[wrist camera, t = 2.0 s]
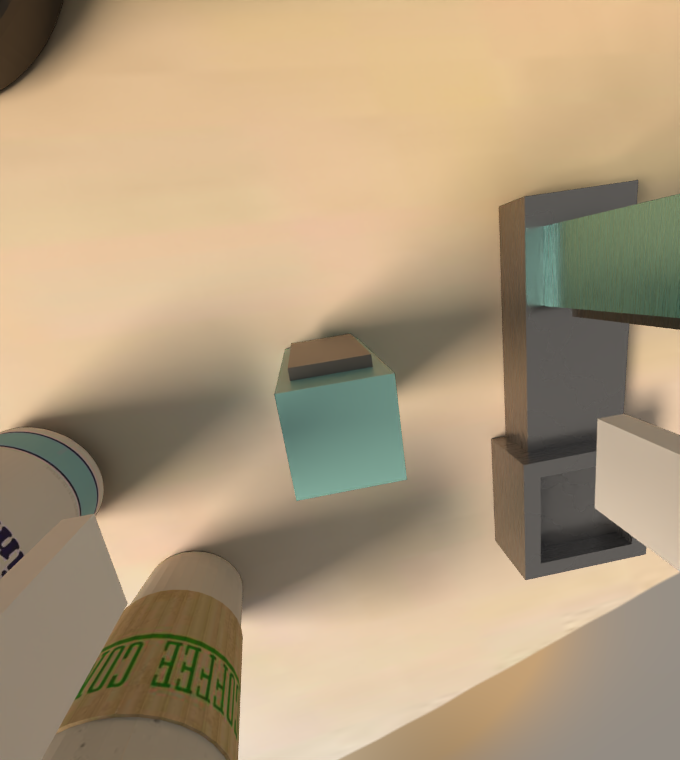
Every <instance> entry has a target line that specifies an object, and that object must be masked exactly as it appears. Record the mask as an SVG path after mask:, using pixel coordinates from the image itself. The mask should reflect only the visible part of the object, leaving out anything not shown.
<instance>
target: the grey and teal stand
mask: <svg viewBox="0 0 680 760" xmlns="http://www.w3.org/2000/svg"><path fill="white" fill-rule="evenodd" d="M637 191H638V180H635V181H629V182H622V183H615V184H608V185H601V186H594V187H588V188H581V189H574V190H567V191H560V192H553V193H547V194H540V195H533V196H526V197H523V198H520V199H517V200H515V201H512V202H510V203H507V204H505V205H502V206H499V223H500V256H501V290H502V324H503V357H504V391H505V424H506V436H505V437H499V438H494V439H491V444H492V468H493V492H494V516H495V540H496V542H497V543H498V545H499V546H500V547H501V549H502V550H503V551H504V553H505V554H506V555H507V557H508V558H509V559H510V560H511V562H512V563H513V564H514V566H515V567H516V568H517V570H518V571H519V572H520V574H521V575H522V576H523V578H524V579H525V580H528V579H533V578H538V577H542V576H547V575H551V574H556V573H561V572H565V571H570V570H575V569H579V568H584V567H589V566H593V565H598V564H602V563H607V562H612V561H616V560H621V559H626V558H630V557H635V556H640V555H644V554H646V546H645V545H643V544H642V543H641V542H639V541H638V540H637V539H635V538H634V537H633V536H631V535H630V534H629V533H627V532H626V531H625V530H623V529H622V528H621V527H619V526H618V525H617V524H615V523H614V522H613V521H611V520H610V519H609V518H607V517H606V516H605V515H603V514H602V513H601V512H599V511H598V510H597V509H595V483H596V452H597V421H598V419H599V418H604V417H610V416H615V415H620V414H623V412H624V396H625V380H626V364H627V349H628V333H629V324H638V325H646V326H654V327H663V328H671V329H679V330H680V194H677V195H673V196H669V197H665V198H661V199H656V200H652V201H648V202H644V203H640V204H637Z"/></svg>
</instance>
